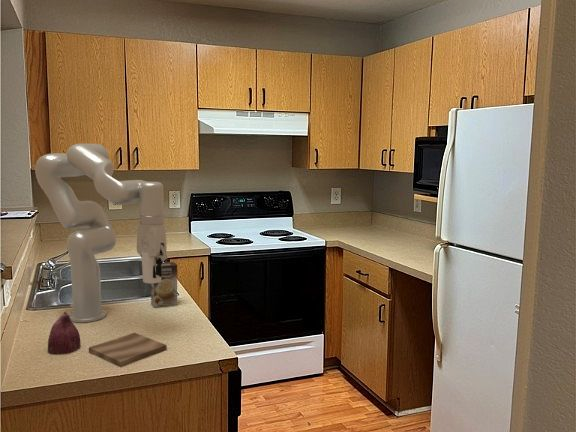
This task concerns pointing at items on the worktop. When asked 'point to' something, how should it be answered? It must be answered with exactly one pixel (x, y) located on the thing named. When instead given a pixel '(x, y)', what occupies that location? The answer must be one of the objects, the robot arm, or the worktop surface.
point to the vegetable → (63, 336)
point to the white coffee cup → (149, 269)
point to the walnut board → (127, 349)
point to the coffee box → (165, 287)
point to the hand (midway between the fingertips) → (152, 275)
